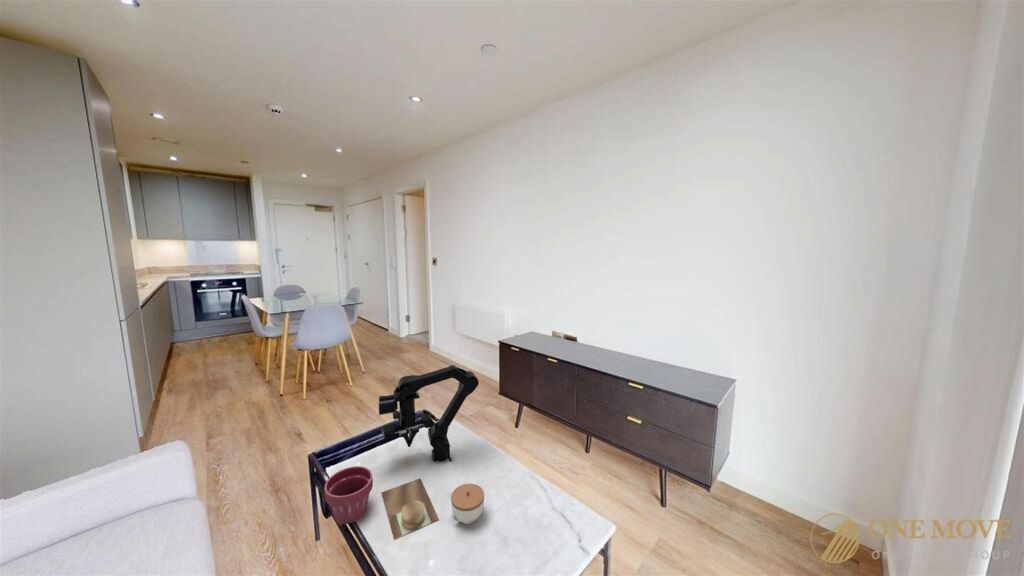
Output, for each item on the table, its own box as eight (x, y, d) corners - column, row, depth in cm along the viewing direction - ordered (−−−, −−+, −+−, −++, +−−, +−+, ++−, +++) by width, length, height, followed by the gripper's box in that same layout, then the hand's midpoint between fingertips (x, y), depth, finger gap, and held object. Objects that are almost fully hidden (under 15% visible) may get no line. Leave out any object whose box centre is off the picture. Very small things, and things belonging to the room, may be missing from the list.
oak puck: (421, 508, 111) (421, 497, 111) (426, 523, 105) (426, 512, 105) (399, 516, 108) (399, 505, 107) (404, 533, 102) (403, 521, 101)
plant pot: (383, 508, 113) (381, 474, 111) (346, 541, 100) (343, 503, 99) (355, 493, 119) (353, 460, 118) (317, 522, 107) (314, 486, 105)
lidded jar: (489, 508, 113) (489, 483, 112) (475, 534, 103) (475, 507, 102) (461, 500, 116) (460, 475, 115) (445, 524, 106) (444, 498, 105)
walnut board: (420, 481, 126) (420, 478, 125) (439, 523, 107) (439, 520, 107) (381, 495, 118) (381, 492, 118) (394, 543, 100) (394, 540, 100)
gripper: (425, 395, 141) (426, 429, 144) (378, 406, 132) (380, 442, 134) (433, 406, 132) (434, 443, 134) (383, 419, 122) (385, 458, 125)
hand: (409, 446), depth 132 cm, fingers closed
